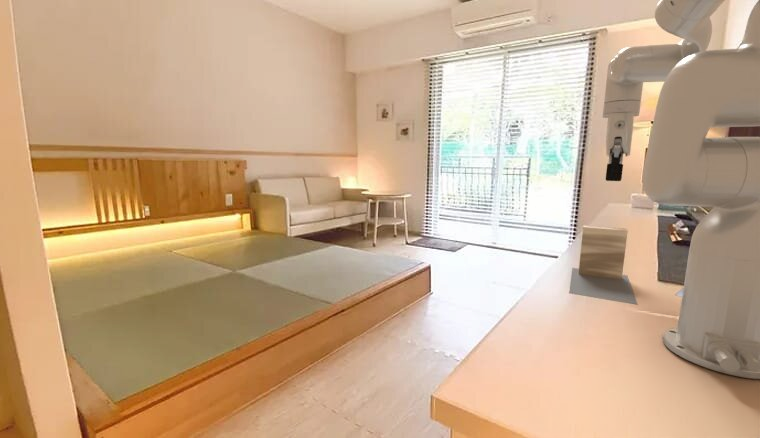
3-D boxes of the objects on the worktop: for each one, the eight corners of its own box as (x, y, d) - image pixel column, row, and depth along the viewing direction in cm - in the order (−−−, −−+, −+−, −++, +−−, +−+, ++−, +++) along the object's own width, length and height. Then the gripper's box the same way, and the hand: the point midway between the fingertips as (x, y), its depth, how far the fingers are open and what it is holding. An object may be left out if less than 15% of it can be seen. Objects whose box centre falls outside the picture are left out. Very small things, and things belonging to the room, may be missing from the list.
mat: (637, 306, 69) (637, 304, 69) (568, 295, 75) (569, 292, 75) (626, 277, 87) (627, 275, 87) (572, 269, 93) (572, 267, 93)
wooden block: (621, 279, 84) (627, 230, 82) (578, 273, 88) (583, 226, 86) (620, 276, 86) (626, 228, 84) (578, 270, 91) (583, 225, 89)
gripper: (642, 104, 77) (633, 182, 80) (637, 113, 92) (629, 178, 95) (602, 107, 81) (594, 181, 84) (603, 115, 96) (596, 178, 99)
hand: (612, 179), depth 89 cm, fingers open, 9 cm apart
